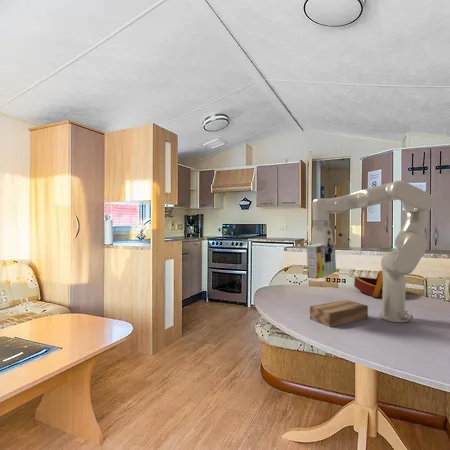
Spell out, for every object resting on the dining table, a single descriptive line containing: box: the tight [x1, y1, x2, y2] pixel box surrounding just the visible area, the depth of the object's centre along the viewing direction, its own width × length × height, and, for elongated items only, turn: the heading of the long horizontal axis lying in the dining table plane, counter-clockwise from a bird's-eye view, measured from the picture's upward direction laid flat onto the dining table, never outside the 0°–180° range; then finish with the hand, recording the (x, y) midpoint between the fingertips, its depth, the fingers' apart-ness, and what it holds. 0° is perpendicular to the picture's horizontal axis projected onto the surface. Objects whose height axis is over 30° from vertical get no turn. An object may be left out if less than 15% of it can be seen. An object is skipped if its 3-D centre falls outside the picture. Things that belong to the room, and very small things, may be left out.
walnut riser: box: [309, 299, 369, 328], centre depth 146 cm, size 12×25×6 cm, turn 118°
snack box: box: [306, 242, 337, 280], centre depth 149 cm, size 21×6×15 cm, turn 139°
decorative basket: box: [353, 269, 383, 299], centre depth 197 cm, size 34×29×15 cm
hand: (321, 260), depth 149 cm, fingers closed on snack box, 7 cm apart
